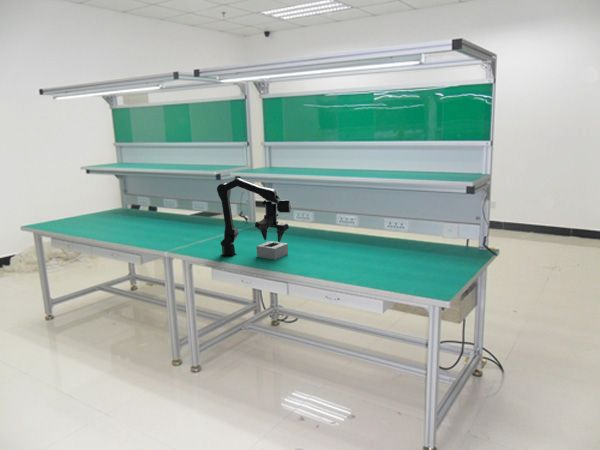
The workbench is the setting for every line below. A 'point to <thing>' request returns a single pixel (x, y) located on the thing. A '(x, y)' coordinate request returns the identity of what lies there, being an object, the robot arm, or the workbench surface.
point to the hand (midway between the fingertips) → (272, 241)
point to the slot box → (272, 250)
